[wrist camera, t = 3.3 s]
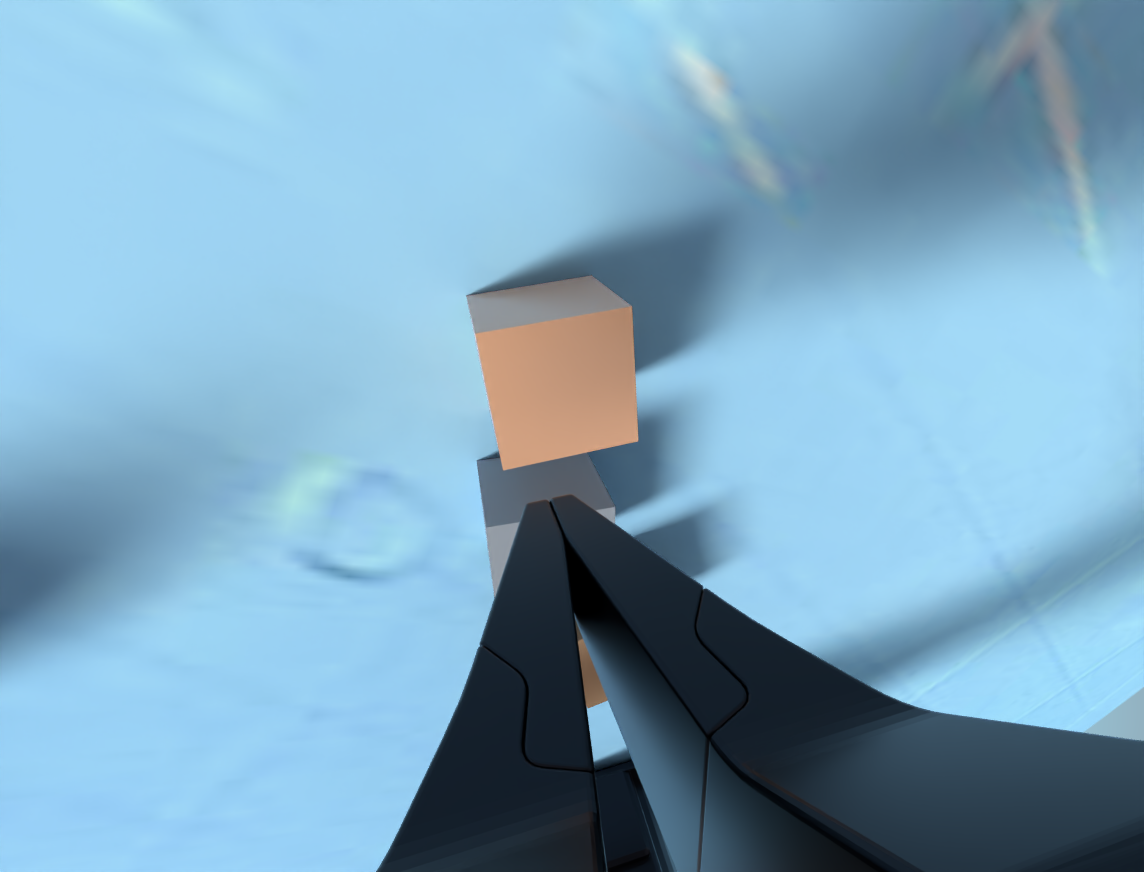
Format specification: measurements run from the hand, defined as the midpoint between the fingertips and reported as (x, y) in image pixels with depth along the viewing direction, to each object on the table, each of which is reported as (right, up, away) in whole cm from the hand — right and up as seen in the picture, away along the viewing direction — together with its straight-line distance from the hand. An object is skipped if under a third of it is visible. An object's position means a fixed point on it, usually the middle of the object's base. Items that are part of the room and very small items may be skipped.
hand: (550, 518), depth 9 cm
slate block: (-1, -1, +11) cm, 11 cm away
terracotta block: (-1, +4, +8) cm, 9 cm away
